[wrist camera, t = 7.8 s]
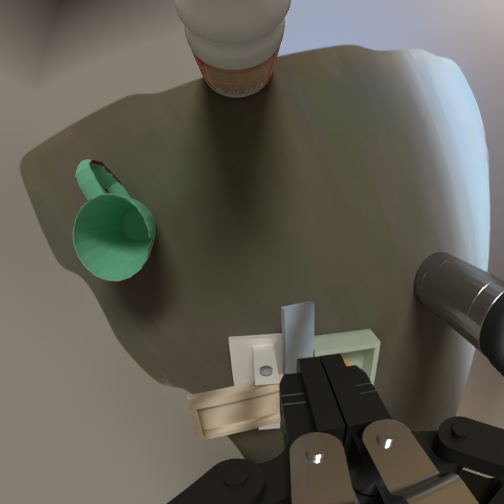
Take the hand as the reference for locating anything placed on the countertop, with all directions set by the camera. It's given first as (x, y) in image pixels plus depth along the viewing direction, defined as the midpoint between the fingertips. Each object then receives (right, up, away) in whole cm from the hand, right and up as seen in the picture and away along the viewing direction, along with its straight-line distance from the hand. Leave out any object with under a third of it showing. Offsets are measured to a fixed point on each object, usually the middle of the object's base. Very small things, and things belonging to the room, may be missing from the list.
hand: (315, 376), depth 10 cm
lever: (-3, -11, +27) cm, 29 cm away
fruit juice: (-4, +29, +26) cm, 39 cm away
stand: (0, -14, +36) cm, 39 cm away
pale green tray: (+12, -13, +36) cm, 40 cm away
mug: (-19, +10, +30) cm, 37 cm away
